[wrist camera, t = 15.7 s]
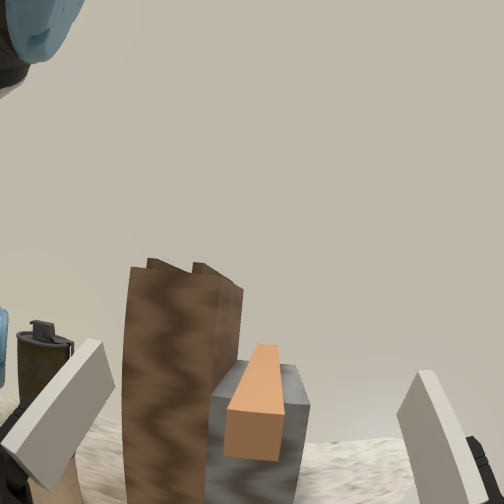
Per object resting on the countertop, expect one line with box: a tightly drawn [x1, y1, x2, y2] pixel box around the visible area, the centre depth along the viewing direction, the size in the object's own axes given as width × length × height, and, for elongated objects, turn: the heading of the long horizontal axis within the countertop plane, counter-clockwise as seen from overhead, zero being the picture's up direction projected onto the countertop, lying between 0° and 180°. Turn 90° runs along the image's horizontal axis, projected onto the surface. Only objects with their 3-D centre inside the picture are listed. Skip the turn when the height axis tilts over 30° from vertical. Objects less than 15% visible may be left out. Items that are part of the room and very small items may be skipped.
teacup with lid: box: [27, 451, 82, 504], centre depth 21 cm, size 12×9×12 cm
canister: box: [16, 320, 74, 403], centre depth 39 cm, size 11×10×20 cm
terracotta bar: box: [223, 344, 285, 461], centre depth 29 cm, size 3×30×3 cm, turn 176°
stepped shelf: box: [122, 258, 310, 504], centre depth 34 cm, size 18×20×31 cm
